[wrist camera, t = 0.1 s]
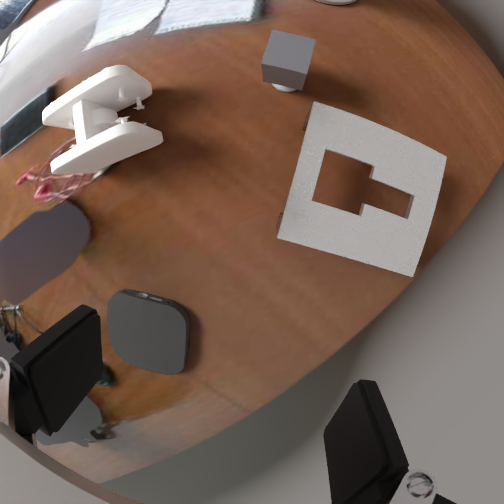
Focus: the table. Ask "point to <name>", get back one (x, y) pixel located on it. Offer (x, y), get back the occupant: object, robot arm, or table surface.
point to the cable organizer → (101, 121)
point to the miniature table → (370, 218)
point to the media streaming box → (149, 331)
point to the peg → (287, 60)
